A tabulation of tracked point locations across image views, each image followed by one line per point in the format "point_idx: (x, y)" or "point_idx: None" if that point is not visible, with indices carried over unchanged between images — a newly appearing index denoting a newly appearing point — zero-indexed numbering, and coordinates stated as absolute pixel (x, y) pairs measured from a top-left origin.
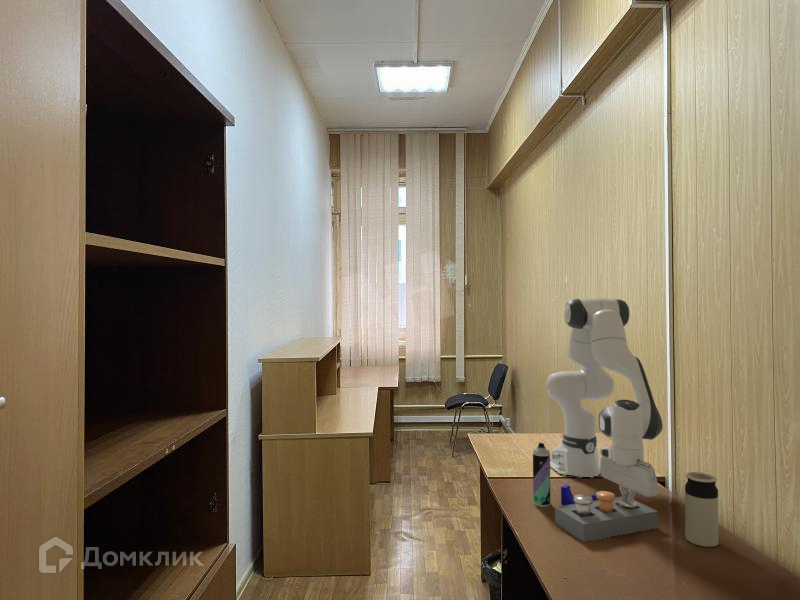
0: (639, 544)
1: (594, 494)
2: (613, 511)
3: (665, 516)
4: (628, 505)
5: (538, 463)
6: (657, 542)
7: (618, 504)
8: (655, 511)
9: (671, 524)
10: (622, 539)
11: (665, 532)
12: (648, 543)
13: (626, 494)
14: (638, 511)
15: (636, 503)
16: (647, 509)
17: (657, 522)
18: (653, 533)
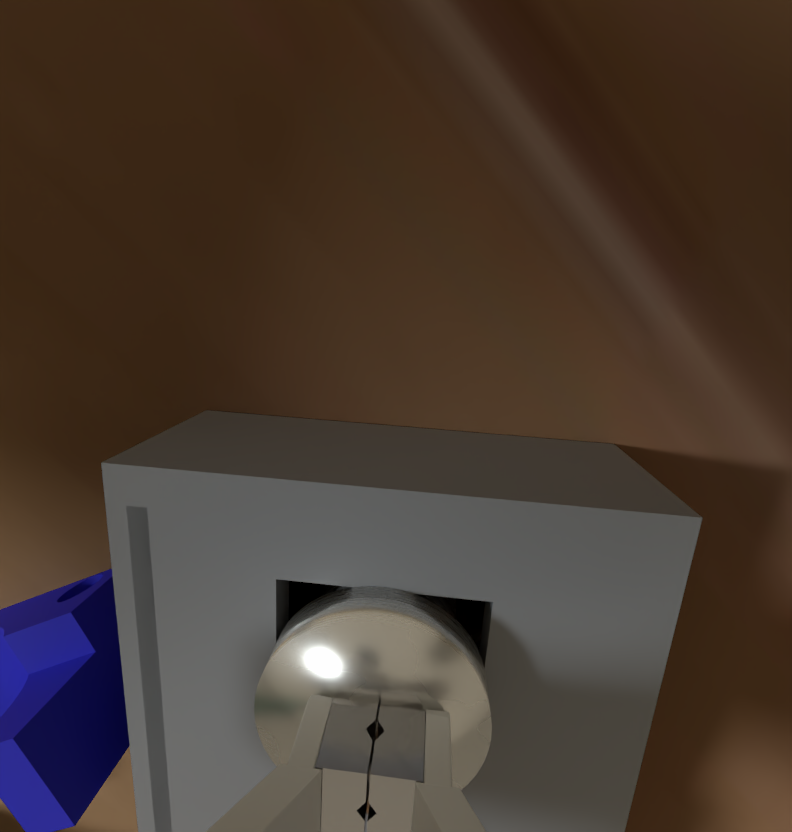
0: (725, 779)
1: (21, 808)
2: None
3: (448, 115)
4: (458, 780)
5: None
6: (787, 656)
7: None
8: (689, 548)
9: (622, 239)
10: None
11: (707, 450)
12: (754, 721)
13: (318, 798)
14: (573, 715)
15: (474, 683)
16: (587, 583)
17: (637, 467)
18: None
